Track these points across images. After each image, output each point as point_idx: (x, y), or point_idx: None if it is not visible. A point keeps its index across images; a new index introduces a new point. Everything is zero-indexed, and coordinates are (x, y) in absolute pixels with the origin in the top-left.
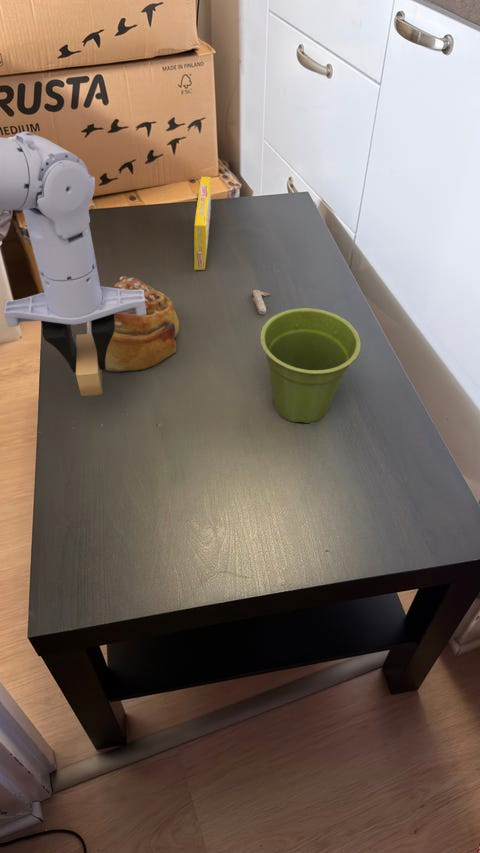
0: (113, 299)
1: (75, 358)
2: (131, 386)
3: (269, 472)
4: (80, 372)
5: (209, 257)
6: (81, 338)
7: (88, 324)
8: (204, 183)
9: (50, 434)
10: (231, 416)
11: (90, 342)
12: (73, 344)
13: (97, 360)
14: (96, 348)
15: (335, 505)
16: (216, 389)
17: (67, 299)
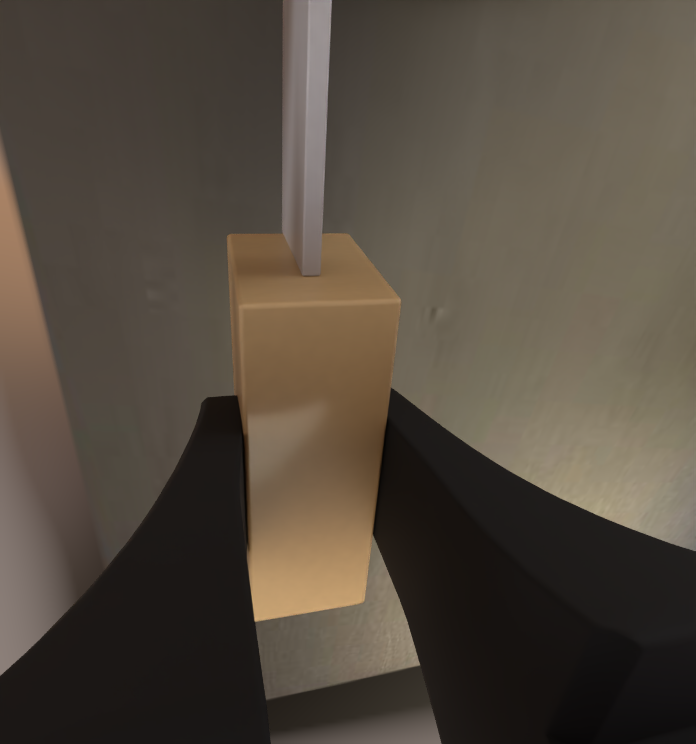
0: None
1: (245, 537)
2: (382, 96)
3: (626, 466)
4: (276, 611)
5: None
6: (281, 354)
7: (321, 61)
8: None
9: (65, 316)
10: (638, 302)
11: (345, 395)
12: (242, 520)
13: (372, 531)
14: (418, 647)
15: (685, 527)
16: (656, 178)
17: None
